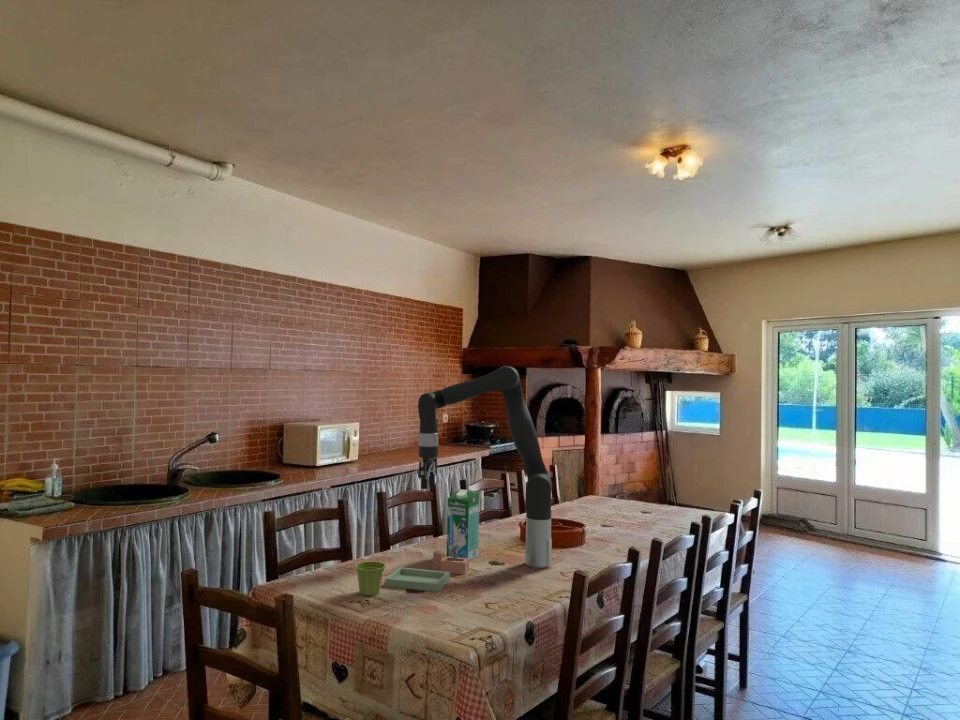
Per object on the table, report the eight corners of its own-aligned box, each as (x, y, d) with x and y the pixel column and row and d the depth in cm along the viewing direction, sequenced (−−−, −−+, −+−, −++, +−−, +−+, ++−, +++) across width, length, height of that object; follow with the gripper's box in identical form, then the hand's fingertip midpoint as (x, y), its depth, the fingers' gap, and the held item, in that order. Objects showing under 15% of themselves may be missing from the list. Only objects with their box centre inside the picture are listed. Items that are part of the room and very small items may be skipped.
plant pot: (371, 586, 201) (371, 559, 201) (391, 592, 195) (391, 565, 195) (348, 593, 193) (349, 565, 194) (368, 600, 187) (368, 571, 188)
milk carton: (446, 558, 234) (447, 492, 234) (458, 552, 242) (459, 488, 242) (467, 562, 229) (468, 494, 230) (478, 556, 237) (479, 490, 238)
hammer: (458, 569, 221) (459, 546, 221) (455, 573, 216) (455, 549, 216) (454, 568, 221) (455, 545, 221) (450, 572, 216) (451, 549, 217)
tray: (449, 579, 209) (449, 572, 209) (437, 591, 196) (437, 584, 196) (399, 574, 213) (400, 567, 213) (385, 586, 201) (385, 578, 201)
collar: (469, 569, 220) (469, 552, 220) (464, 574, 215) (465, 557, 215) (436, 566, 223) (436, 549, 223) (431, 571, 218) (432, 553, 218)
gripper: (431, 446, 230) (430, 490, 229) (443, 443, 243) (443, 484, 243) (412, 446, 231) (412, 489, 231) (425, 442, 245) (425, 483, 245)
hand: (428, 487), depth 237 cm, fingers open, 8 cm apart
